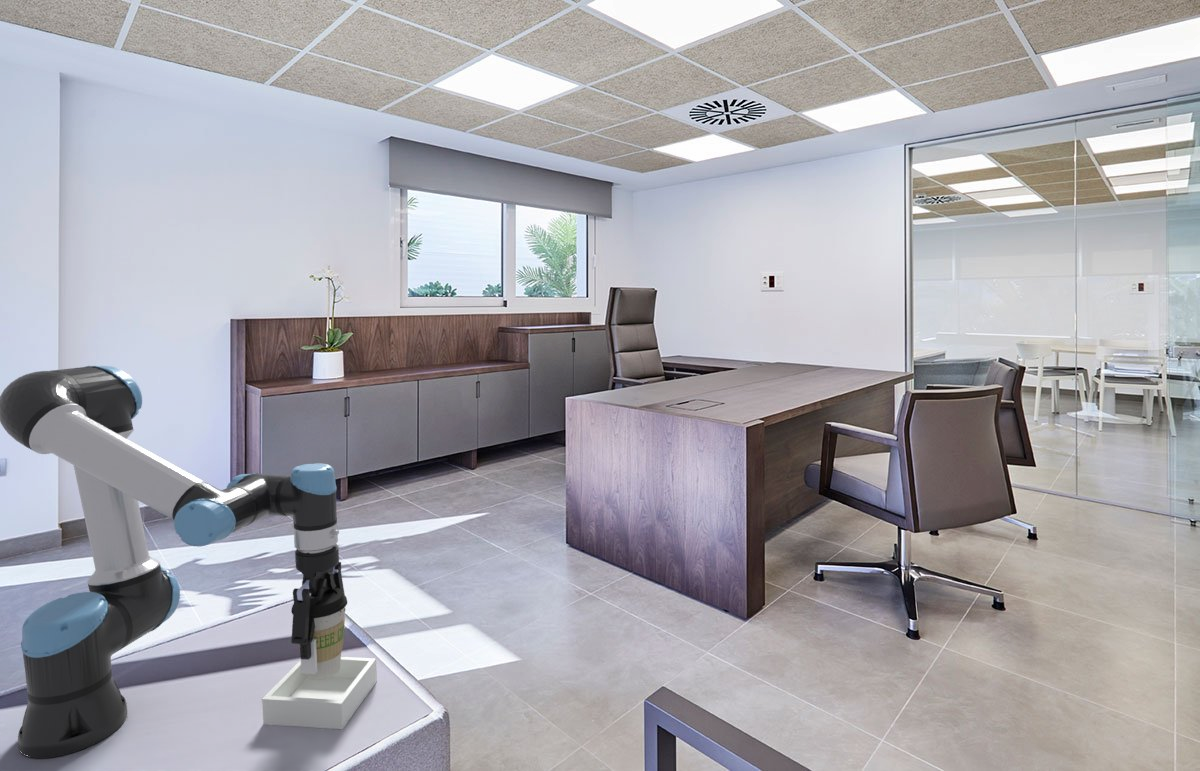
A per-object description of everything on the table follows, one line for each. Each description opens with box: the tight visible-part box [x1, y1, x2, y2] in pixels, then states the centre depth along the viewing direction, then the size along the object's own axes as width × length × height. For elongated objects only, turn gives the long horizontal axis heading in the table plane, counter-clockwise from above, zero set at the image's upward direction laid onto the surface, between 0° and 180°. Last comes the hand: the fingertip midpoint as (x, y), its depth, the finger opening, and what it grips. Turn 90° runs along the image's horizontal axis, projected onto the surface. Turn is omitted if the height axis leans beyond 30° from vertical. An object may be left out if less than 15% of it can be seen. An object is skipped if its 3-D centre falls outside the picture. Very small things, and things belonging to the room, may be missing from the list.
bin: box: [261, 656, 378, 730], centre depth 124 cm, size 15×15×5 cm
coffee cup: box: [291, 588, 348, 680], centre depth 122 cm, size 10×10×15 cm
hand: (322, 658), depth 123 cm, fingers closed on coffee cup, 9 cm apart
